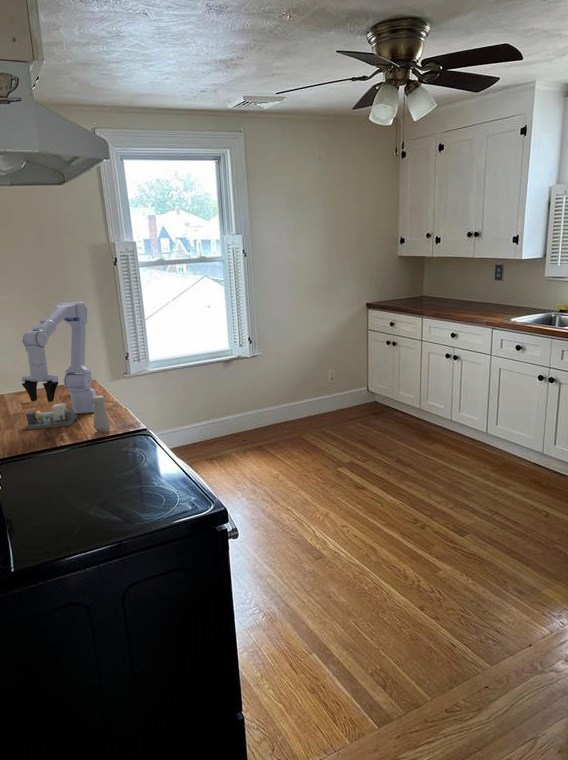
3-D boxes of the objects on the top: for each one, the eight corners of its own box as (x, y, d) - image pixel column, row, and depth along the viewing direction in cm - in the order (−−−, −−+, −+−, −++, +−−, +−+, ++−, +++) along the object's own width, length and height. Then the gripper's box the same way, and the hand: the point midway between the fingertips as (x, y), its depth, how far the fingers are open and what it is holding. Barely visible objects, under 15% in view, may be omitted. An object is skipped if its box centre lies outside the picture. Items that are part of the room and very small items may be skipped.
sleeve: (68, 416, 208) (65, 403, 207) (65, 419, 205) (63, 405, 203) (57, 417, 208) (55, 404, 207) (54, 420, 204) (52, 406, 203)
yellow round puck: (42, 418, 207) (40, 409, 206) (39, 421, 204) (37, 412, 203) (39, 419, 207) (37, 410, 206) (36, 421, 204) (34, 412, 203)
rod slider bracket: (77, 417, 212) (75, 404, 211) (70, 425, 202) (68, 412, 201) (34, 421, 210) (32, 408, 209) (26, 429, 201) (23, 416, 199)
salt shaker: (106, 434, 190) (100, 398, 187) (91, 434, 191) (85, 398, 188) (114, 428, 195) (109, 394, 192) (100, 428, 197) (94, 394, 193)
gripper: (13, 365, 193) (18, 403, 195) (46, 365, 188) (50, 404, 191) (28, 362, 200) (32, 398, 202) (60, 363, 195) (64, 399, 197)
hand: (42, 401), depth 197 cm, fingers open, 7 cm apart
